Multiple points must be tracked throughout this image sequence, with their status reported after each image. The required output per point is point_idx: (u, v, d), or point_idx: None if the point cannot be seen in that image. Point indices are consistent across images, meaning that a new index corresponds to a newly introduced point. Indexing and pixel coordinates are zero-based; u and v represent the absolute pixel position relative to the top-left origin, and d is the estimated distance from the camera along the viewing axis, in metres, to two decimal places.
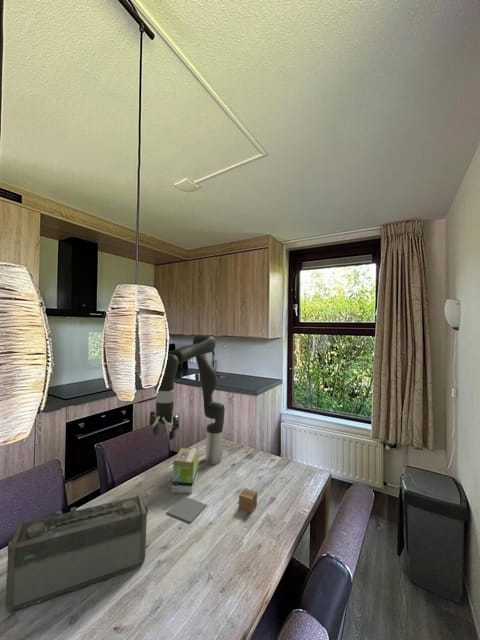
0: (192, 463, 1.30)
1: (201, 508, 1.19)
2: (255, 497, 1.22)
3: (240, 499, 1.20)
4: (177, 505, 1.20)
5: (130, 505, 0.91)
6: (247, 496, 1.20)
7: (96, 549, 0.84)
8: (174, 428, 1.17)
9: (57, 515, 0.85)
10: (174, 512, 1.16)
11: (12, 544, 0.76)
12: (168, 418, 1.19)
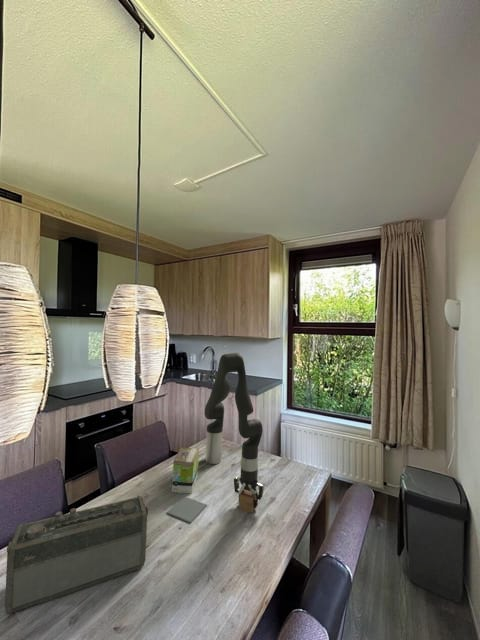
0: (192, 463, 1.30)
1: (201, 508, 1.19)
2: None
3: (240, 499, 1.20)
4: (177, 505, 1.20)
5: (130, 506, 0.91)
6: (247, 496, 1.20)
7: (96, 551, 0.83)
8: (259, 497, 1.18)
9: (56, 516, 0.85)
10: (174, 512, 1.16)
11: (11, 545, 0.76)
12: (254, 486, 1.20)
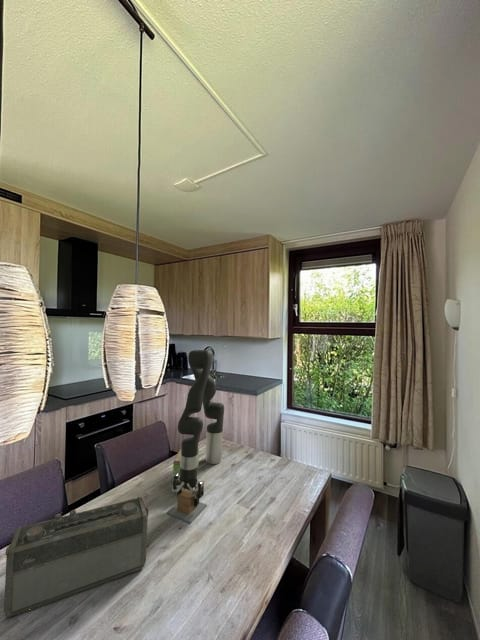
0: None
1: (201, 508, 1.19)
2: None
3: (179, 500, 1.17)
4: None
5: (131, 507, 0.90)
6: (185, 497, 1.17)
7: (97, 553, 0.83)
8: (199, 496, 1.15)
9: (56, 518, 0.84)
10: (174, 512, 1.16)
11: (11, 548, 0.75)
12: (193, 484, 1.16)
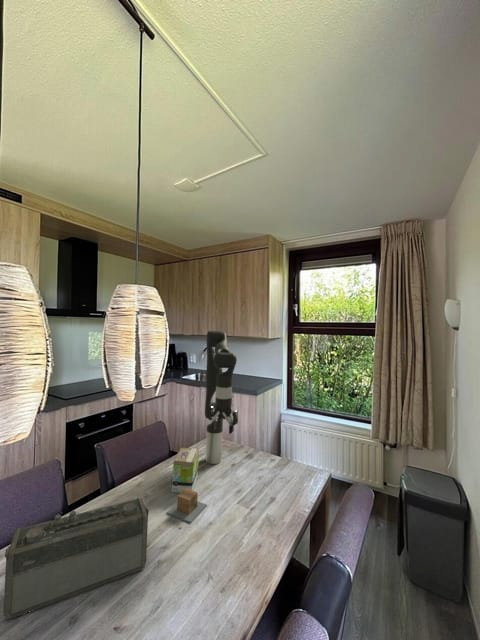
0: (192, 463, 1.30)
1: (201, 508, 1.19)
2: (194, 498, 1.18)
3: (179, 500, 1.17)
4: None
5: (131, 508, 0.90)
6: (185, 497, 1.17)
7: (97, 554, 0.82)
8: (234, 422, 1.24)
9: (56, 520, 0.83)
10: (174, 512, 1.16)
11: (10, 550, 0.74)
12: (228, 413, 1.26)
